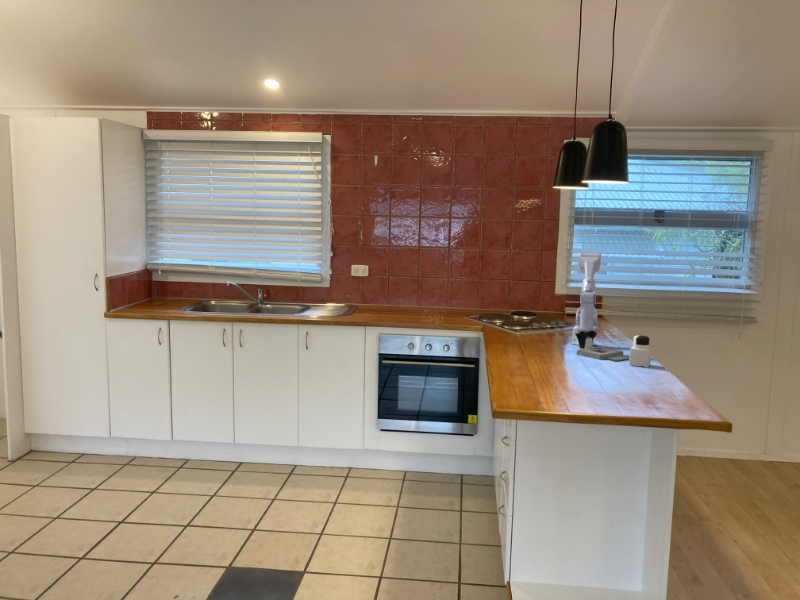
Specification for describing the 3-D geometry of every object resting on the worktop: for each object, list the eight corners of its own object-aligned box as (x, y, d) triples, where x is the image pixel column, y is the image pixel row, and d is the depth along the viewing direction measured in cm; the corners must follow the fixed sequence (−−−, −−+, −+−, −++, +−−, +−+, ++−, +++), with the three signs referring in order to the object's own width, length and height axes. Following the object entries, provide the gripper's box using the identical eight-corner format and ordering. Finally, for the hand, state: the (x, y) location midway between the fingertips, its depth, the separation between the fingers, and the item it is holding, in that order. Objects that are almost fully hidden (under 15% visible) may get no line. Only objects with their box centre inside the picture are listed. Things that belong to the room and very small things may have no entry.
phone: (605, 360, 256) (606, 357, 256) (620, 358, 260) (620, 355, 260) (615, 363, 251) (615, 360, 251) (629, 361, 256) (630, 358, 256)
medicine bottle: (650, 364, 248) (652, 335, 246) (647, 367, 241) (649, 338, 240) (632, 362, 251) (633, 333, 250) (628, 365, 245) (630, 336, 244)
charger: (578, 350, 274) (579, 335, 273) (584, 349, 276) (585, 334, 275) (585, 352, 271) (586, 336, 270) (591, 351, 273) (592, 336, 272)
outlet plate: (576, 354, 265) (576, 349, 265) (599, 350, 274) (600, 346, 274) (599, 359, 255) (599, 354, 255) (622, 355, 264) (623, 351, 264)
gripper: (583, 320, 264) (581, 350, 266) (604, 318, 273) (602, 347, 274) (570, 318, 270) (569, 348, 272) (591, 316, 278) (590, 345, 280)
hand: (585, 347), depth 273 cm, fingers closed on charger, 4 cm apart
